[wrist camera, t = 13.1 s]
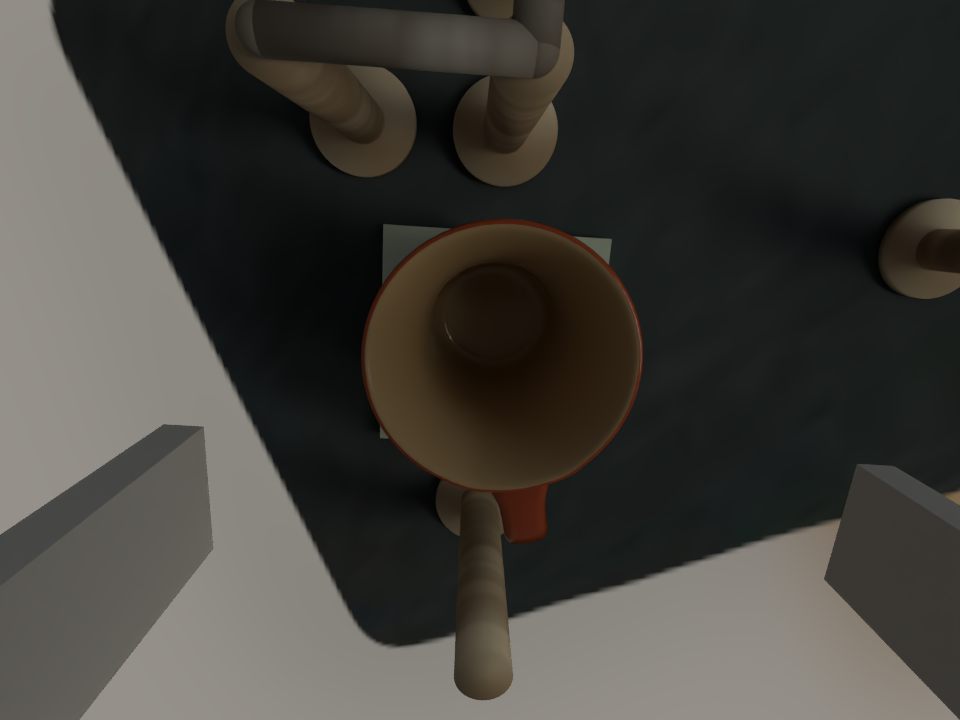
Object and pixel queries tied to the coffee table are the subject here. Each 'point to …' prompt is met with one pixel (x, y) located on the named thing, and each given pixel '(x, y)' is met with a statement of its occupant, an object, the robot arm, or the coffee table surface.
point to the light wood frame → (414, 46)
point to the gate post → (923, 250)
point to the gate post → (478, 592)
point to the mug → (502, 361)
